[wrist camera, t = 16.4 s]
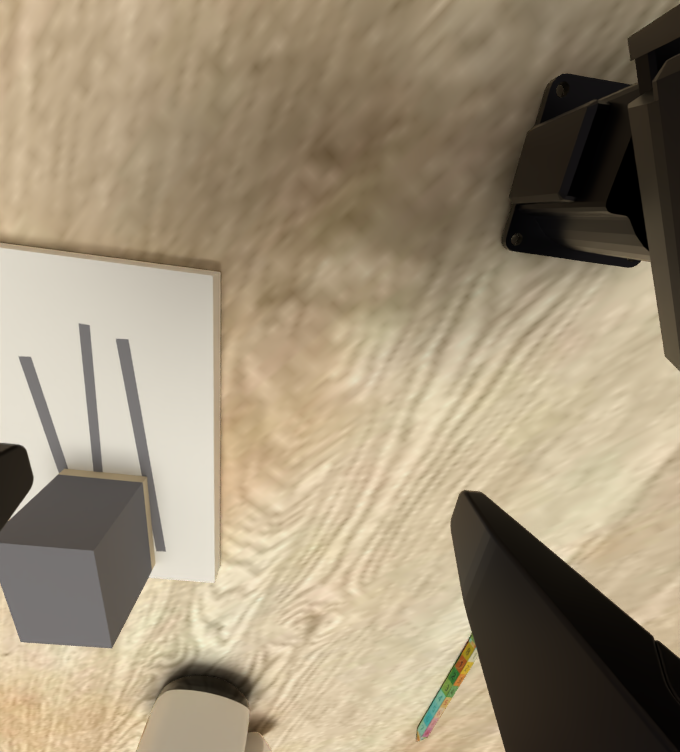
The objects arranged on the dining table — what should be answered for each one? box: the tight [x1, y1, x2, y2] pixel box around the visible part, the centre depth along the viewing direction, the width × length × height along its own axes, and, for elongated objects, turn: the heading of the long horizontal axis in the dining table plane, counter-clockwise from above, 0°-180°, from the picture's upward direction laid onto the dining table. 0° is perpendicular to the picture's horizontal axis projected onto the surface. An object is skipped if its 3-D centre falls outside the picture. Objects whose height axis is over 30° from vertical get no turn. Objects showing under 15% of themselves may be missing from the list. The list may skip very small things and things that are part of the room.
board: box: [0, 243, 221, 583], centre depth 21 cm, size 12×20×1 cm, turn 172°
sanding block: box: [0, 469, 155, 648], centre depth 20 cm, size 4×7×5 cm, turn 172°
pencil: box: [416, 635, 478, 742], centre depth 31 cm, size 1×1×18 cm
